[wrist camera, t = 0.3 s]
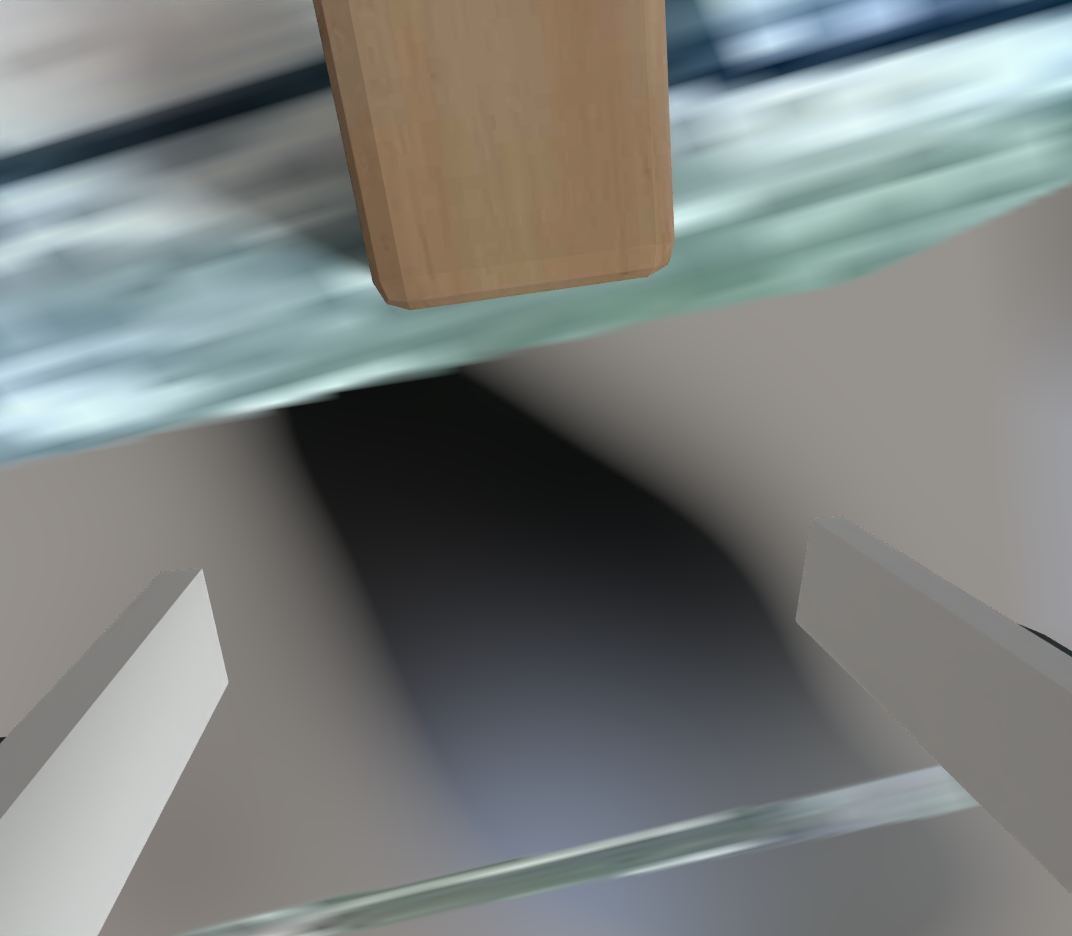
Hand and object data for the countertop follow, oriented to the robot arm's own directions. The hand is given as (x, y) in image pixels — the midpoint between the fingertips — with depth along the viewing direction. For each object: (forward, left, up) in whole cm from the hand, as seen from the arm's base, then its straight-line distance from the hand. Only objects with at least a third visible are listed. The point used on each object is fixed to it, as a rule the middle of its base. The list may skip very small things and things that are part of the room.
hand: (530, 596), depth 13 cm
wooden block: (-11, +1, -28) cm, 30 cm away
